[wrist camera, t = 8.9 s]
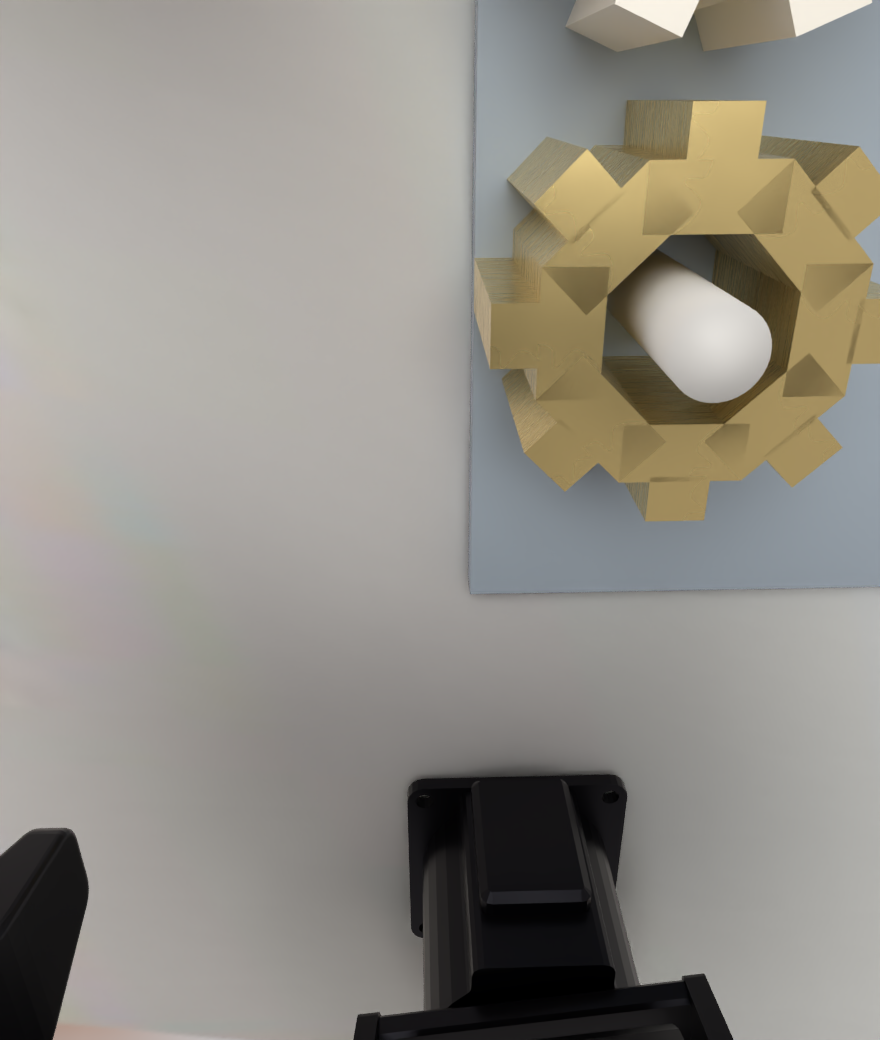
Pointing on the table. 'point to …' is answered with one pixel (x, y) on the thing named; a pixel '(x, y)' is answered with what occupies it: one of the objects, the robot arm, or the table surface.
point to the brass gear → (737, 270)
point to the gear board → (597, 504)
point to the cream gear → (702, 20)
